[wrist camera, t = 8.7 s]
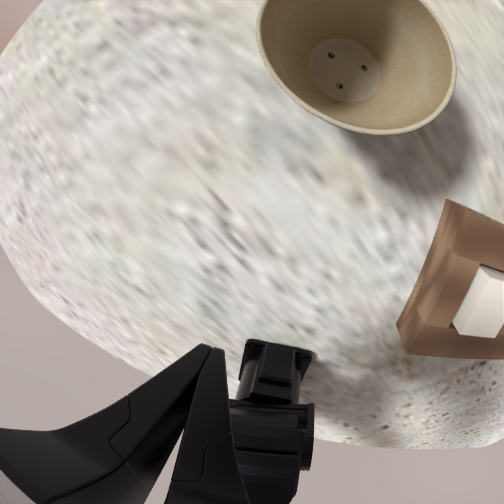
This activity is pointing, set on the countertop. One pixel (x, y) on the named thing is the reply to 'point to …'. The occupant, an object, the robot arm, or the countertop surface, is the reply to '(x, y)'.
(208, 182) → the countertop surface
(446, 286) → the key console
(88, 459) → the robot arm
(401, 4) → the flower pot
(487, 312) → the cream key
